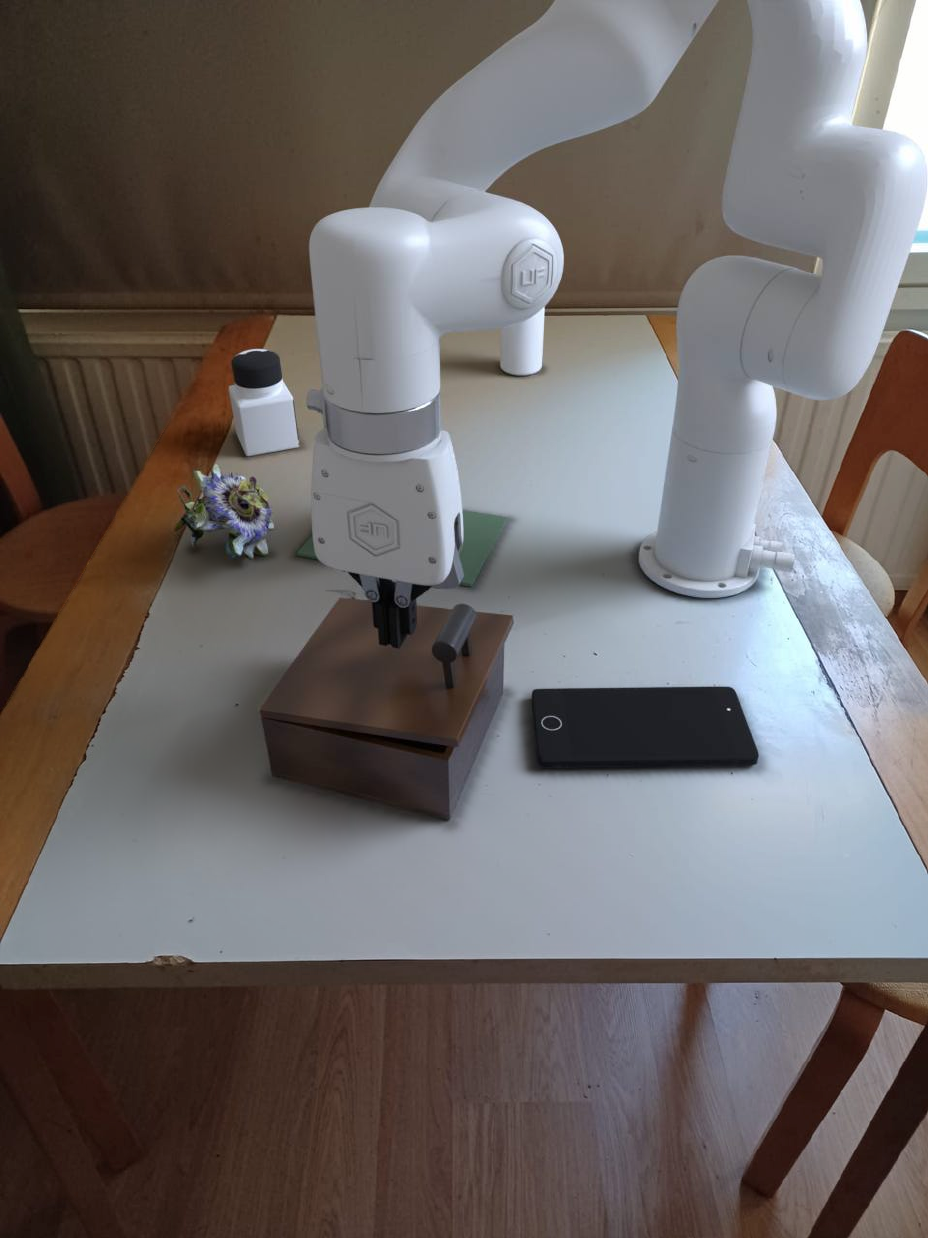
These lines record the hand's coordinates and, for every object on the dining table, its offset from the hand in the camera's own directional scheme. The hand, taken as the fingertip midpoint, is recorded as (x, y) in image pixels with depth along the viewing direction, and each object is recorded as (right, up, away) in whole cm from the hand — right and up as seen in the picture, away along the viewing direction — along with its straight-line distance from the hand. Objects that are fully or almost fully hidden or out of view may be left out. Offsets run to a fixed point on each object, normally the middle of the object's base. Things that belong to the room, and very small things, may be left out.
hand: (396, 636), depth 70 cm
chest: (-1, -8, +7) cm, 11 cm away
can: (+14, +40, +70) cm, 82 cm away
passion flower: (-21, +9, +30) cm, 38 cm away
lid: (0, -3, +2) cm, 4 cm away
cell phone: (+20, -8, +7) cm, 23 cm away
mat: (-1, +11, +32) cm, 33 cm away
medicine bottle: (-21, +25, +51) cm, 61 cm away
